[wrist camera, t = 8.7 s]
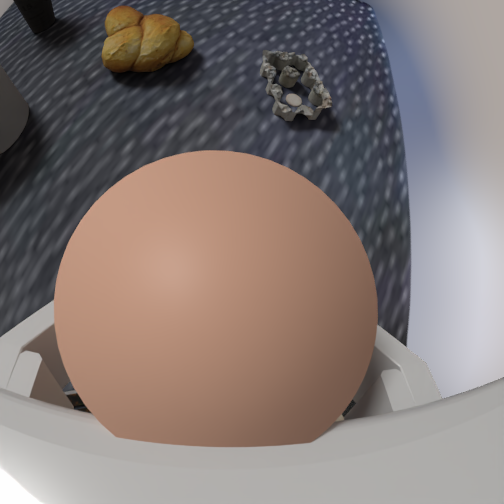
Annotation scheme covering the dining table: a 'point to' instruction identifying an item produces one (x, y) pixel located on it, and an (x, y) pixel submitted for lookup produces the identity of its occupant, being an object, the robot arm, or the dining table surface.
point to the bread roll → (142, 41)
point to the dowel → (215, 305)
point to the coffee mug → (11, 112)
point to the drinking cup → (37, 13)
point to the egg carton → (288, 80)
